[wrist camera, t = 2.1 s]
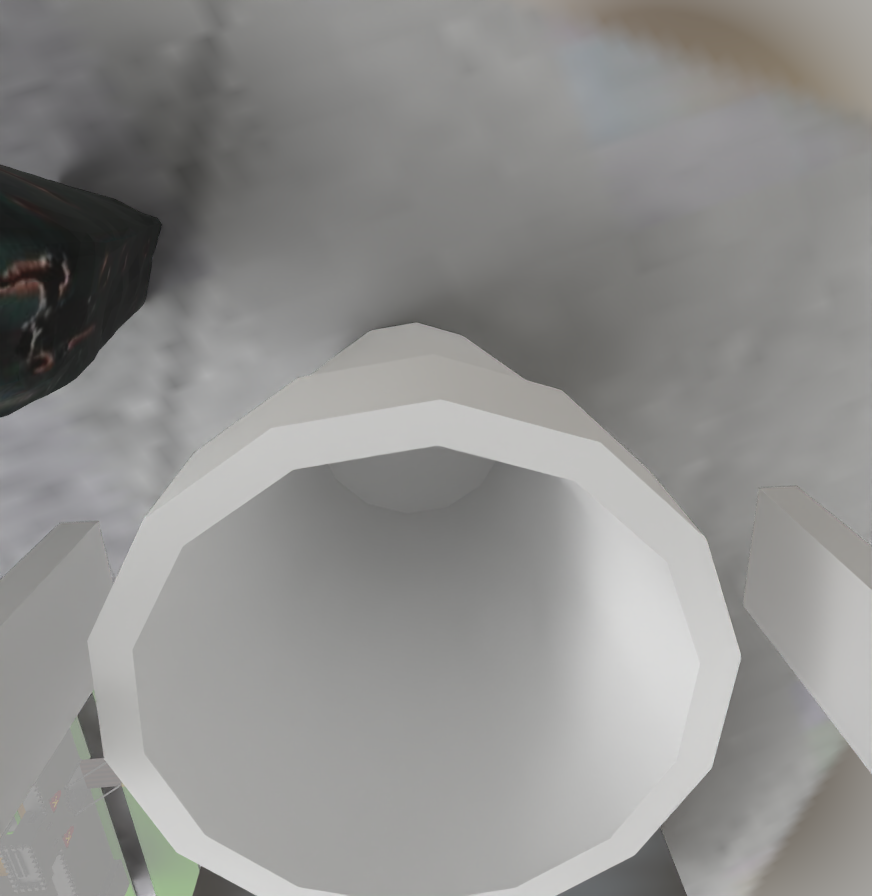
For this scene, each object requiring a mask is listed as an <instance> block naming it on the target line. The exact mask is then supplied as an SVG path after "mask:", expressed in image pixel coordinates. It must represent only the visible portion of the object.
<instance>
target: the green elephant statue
mask: <svg viewBox="0 0 872 896" xmlns="http://www.w3.org/2000/svg"><path fill="white" fill-rule="evenodd" d="M161 226H162V224H161V222H160V221H159V220H158V218H155V217H152V216H149V215H146V214H143V213H141V212H139V211H137V210H135V209H133V208H131V207H129V206H127V205H126V204H124V203H122V202H120V201H118V200H116V199H113V198H109V197H106V196H102V195H98V194H95V193H91V192H88V191H84V190H80V189H76V188H72V187H69V186H66V185H63V184H60V183H58V182H55V181H51V180H47V179H44V178H41V177H38V176H35V175H32V174H29V173H25V172H22V171H19V170H16V169H13V168H10V167H6V166H3V165H0V417H4V416H7V415H9V414H11V413H13V412H15V411H17V410H18V409H20V408H22V407H24V406H26V405H28V404H29V403H31V402H33V401H35V400H37V399H40V398H42V397H44V396H46V395H48V394H50V393H52V392H54V391H56V390H58V389H60V388H61V387H63V386H65V385H67V384H68V383H70V382H71V381H73V380H74V379H76V378H77V377H78V376H79V375H80V374H81V373H82V372H83V371H84V370H85V368H86V367H87V366H88V365H89V364H90V363H91V362H92V361H93V360H94V359H95V357H96V355H97V353H98V351H99V350H100V349H101V348H102V347H103V346H104V345H105V344H106V342H107V341H108V340H109V339H110V338H111V337H112V336H113V335H114V333H115V332H116V331H117V330H118V329H119V328H120V327H121V326H122V325H123V324H124V323H125V322H126V321H127V320H128V319H129V318H130V317H131V316H132V315H133V314H134V313H135V312H137V311H138V310H139V309H140V308H141V307H142V306H143V303H144V301H145V298H146V294H147V288H148V283H149V277H150V271H151V263H152V256H153V253H154V250H155V247H156V244H157V240H158V237H159V233H160V229H161Z"/></svg>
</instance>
